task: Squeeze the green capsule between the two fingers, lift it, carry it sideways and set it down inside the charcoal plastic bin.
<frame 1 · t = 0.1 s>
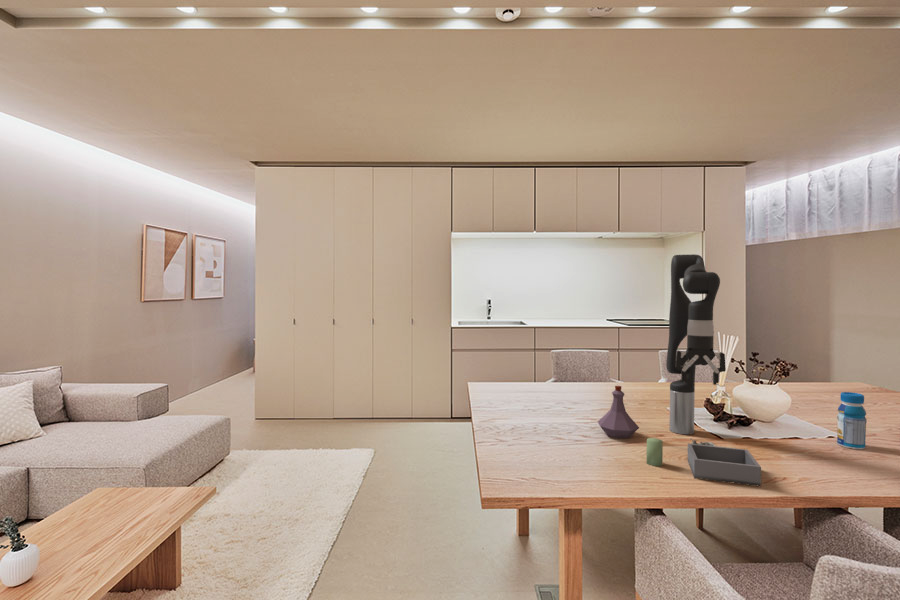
hand: (699, 383, 151), 29 cm above the table, tool pointing down, fingers open, 8 cm apart
green capsule: (654, 463, 159), on the table
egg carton: (705, 454, 169), on the table
beverage bottle: (850, 446, 176), on the table
flask: (617, 435, 190), on the table
bin: (721, 472, 151), on the table
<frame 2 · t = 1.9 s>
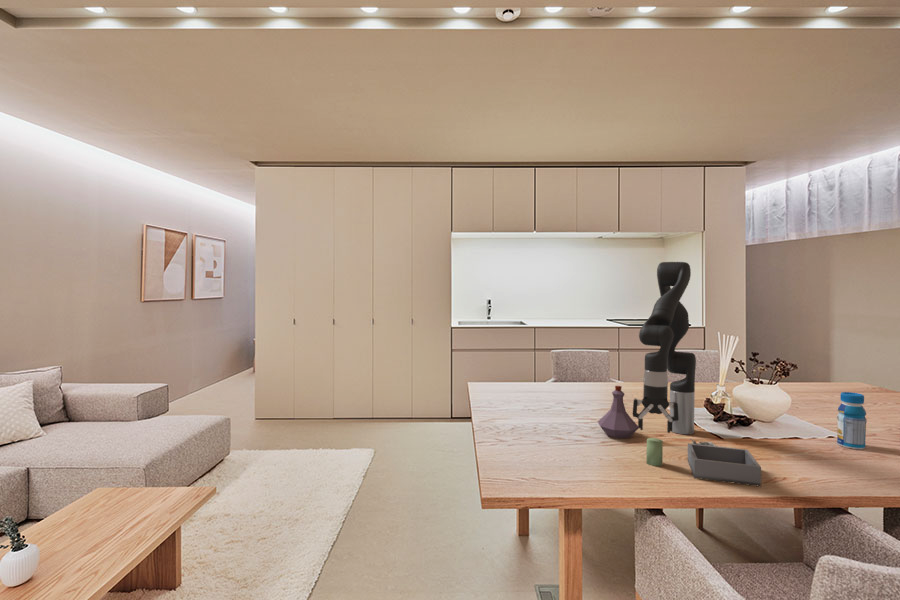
hand: (654, 430, 159), 11 cm above the table, tool pointing down, fingers open, 8 cm apart
nothing on the table moved.
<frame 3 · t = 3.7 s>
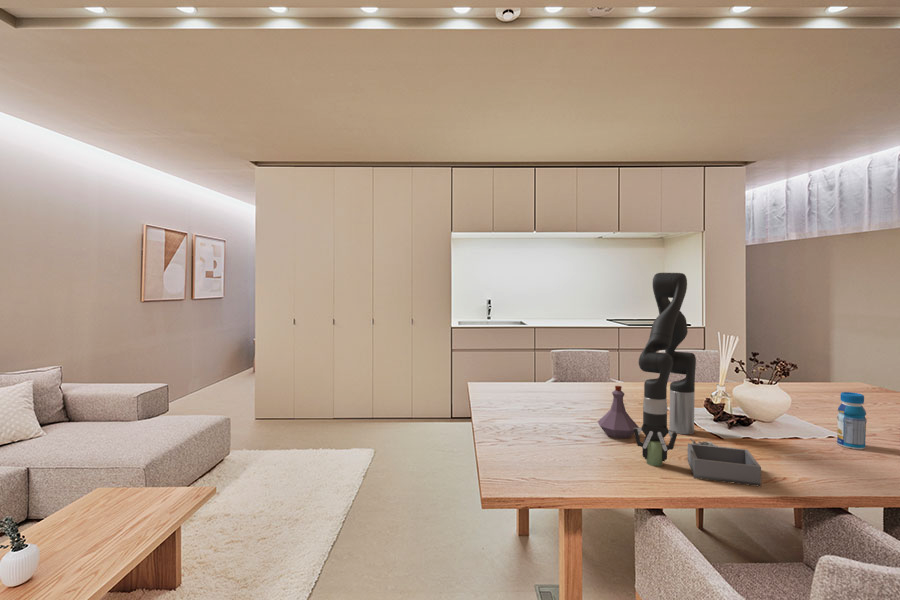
hand: (654, 459, 159), 1 cm above the table, tool pointing down, fingers closed on green capsule, 5 cm apart
green capsule: (654, 463, 159), on the table, touching gripper
everything else where it was.
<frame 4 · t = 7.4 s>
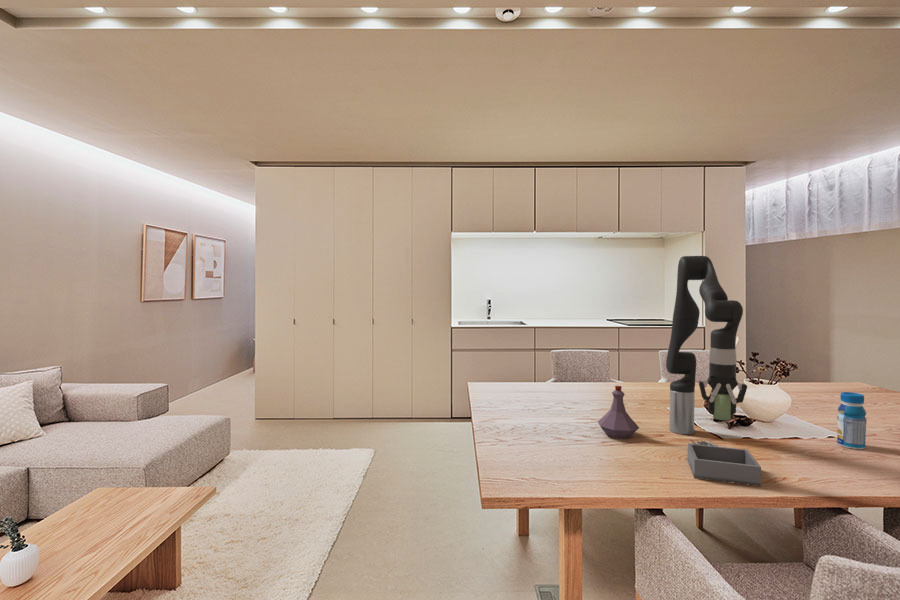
hand: (721, 413, 151), 19 cm above the table, tool pointing down, fingers closed on green capsule, 5 cm apart
green capsule: (721, 418, 151), point 18 cm above the table, touching gripper
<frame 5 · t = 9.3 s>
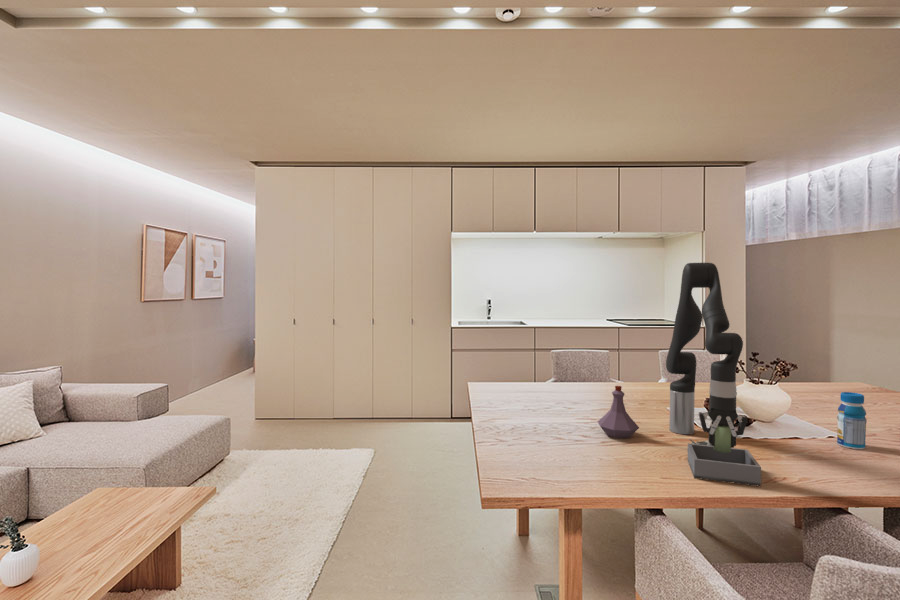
hand: (722, 445, 151), 9 cm above the table, tool pointing down, fingers closed on green capsule, 5 cm apart
green capsule: (722, 450, 151), point 7 cm above the table, touching gripper
when the fingers open (4 cm above the table, at t = 11.1 s): green capsule drops 2 cm, resting on bin.
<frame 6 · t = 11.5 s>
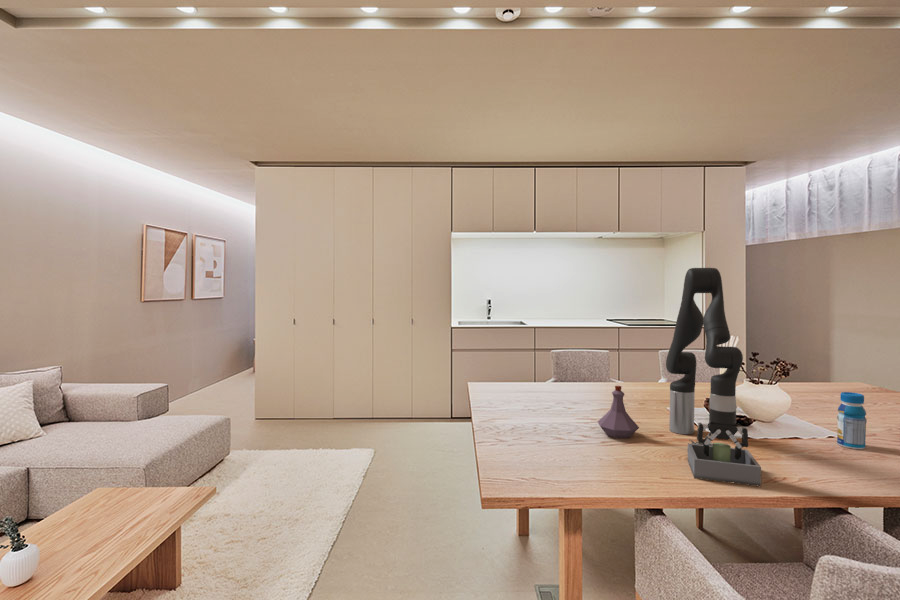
hand: (721, 457, 151), 5 cm above the table, tool pointing down, fingers open, 8 cm apart
green capsule: (721, 469, 151), point 1 cm above the table, touching bin
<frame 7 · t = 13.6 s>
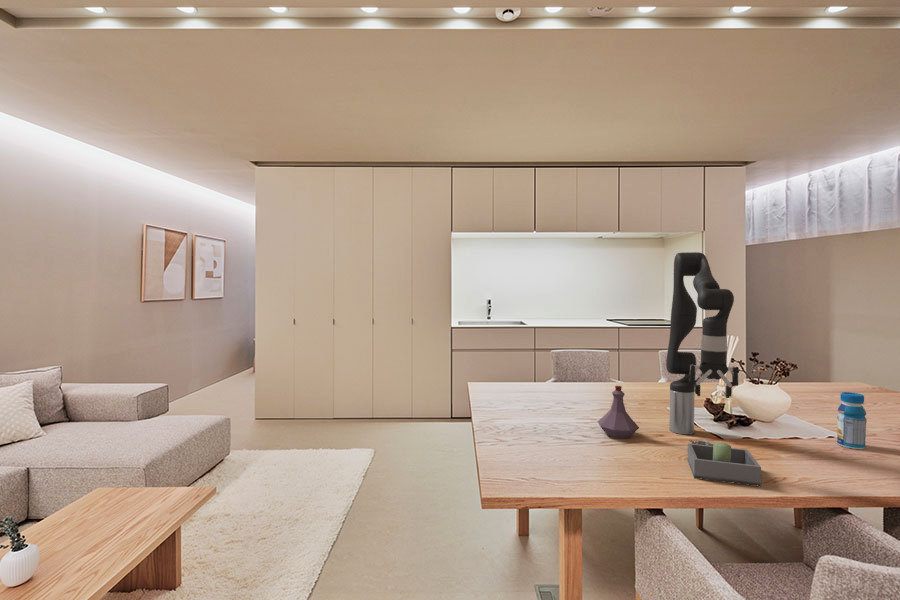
hand: (712, 396, 156), 24 cm above the table, tool pointing down, fingers open, 8 cm apart
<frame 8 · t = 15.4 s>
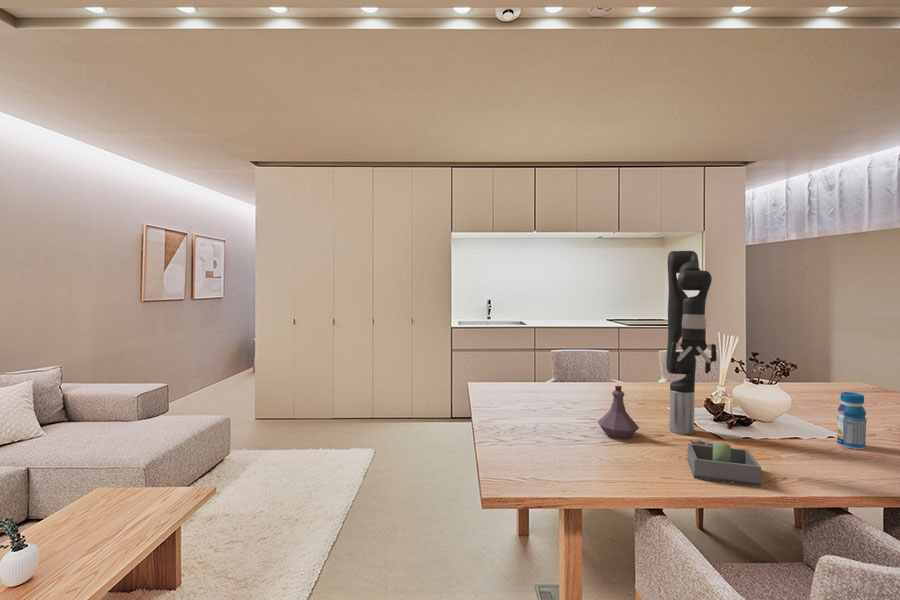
hand: (693, 372, 165), 30 cm above the table, tool pointing down, fingers open, 8 cm apart
at the end: green capsule inside the target area on the bin (0.1 cm from its centre), point 1.1 cm above the bin's base; the gripper is holding nothing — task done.
